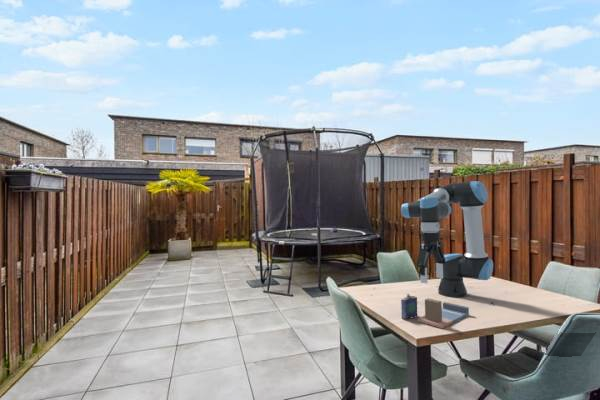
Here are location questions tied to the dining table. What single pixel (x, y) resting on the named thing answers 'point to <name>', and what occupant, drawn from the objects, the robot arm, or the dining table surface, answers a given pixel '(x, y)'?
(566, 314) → the dining table surface
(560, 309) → the dining table surface
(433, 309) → the upright panel on base
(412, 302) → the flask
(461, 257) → the robot arm
